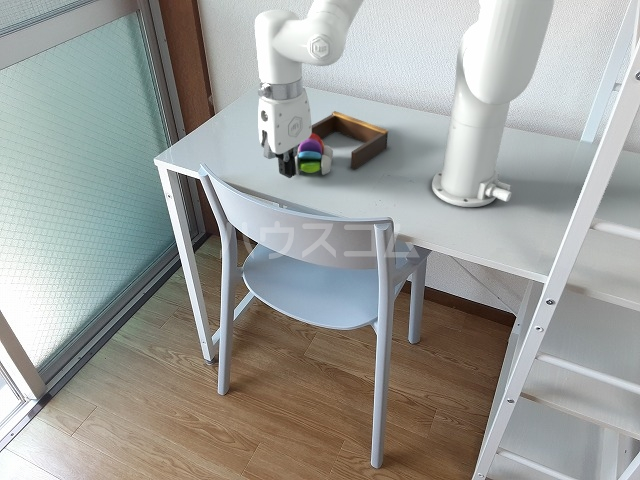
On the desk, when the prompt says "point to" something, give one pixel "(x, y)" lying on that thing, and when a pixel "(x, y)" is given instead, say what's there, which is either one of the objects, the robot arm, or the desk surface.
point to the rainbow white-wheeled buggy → (313, 156)
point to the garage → (354, 135)
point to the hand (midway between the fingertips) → (287, 174)
